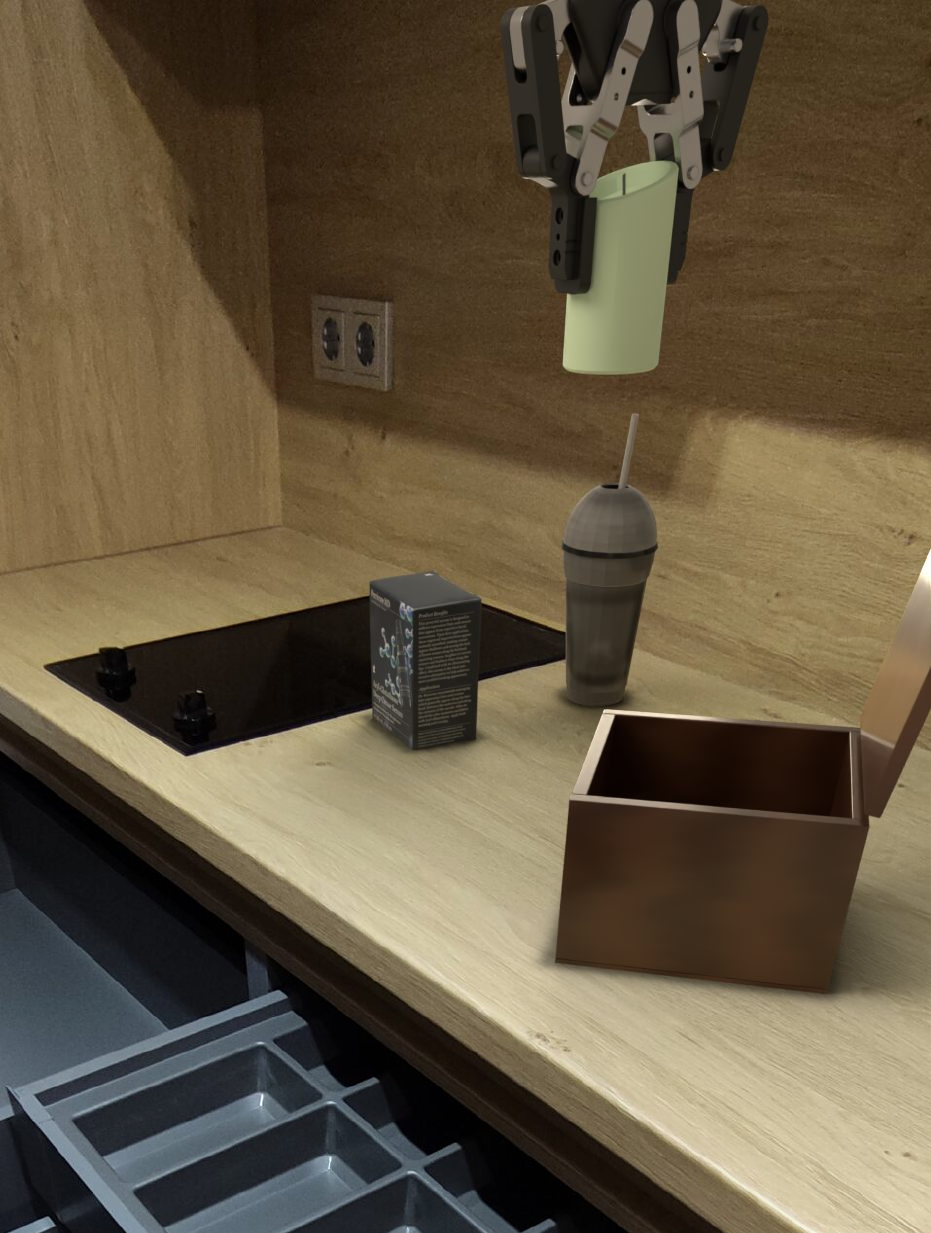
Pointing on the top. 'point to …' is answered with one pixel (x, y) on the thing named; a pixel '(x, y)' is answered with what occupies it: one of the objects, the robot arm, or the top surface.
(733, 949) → the chest
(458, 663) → the box
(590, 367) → the candle
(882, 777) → the lid
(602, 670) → the beverage cup
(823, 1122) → the top surface
